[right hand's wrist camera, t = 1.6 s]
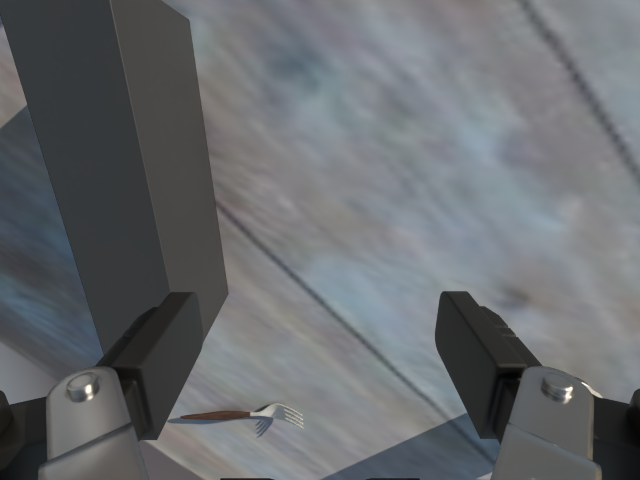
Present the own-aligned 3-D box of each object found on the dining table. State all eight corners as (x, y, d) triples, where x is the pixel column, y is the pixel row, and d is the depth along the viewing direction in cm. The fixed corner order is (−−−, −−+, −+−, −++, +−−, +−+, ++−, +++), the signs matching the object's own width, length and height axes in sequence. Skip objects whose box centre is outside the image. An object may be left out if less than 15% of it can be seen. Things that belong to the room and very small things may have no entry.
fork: (180, 406, 45) (173, 419, 43) (302, 401, 44) (302, 414, 42) (183, 421, 46) (177, 434, 44) (304, 417, 45) (303, 430, 43)
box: (228, 293, 39) (187, 372, 27) (174, 295, 39) (109, 374, 27) (189, 19, 30) (101, -42, 18) (118, 22, 30) (-16, -37, 18)
